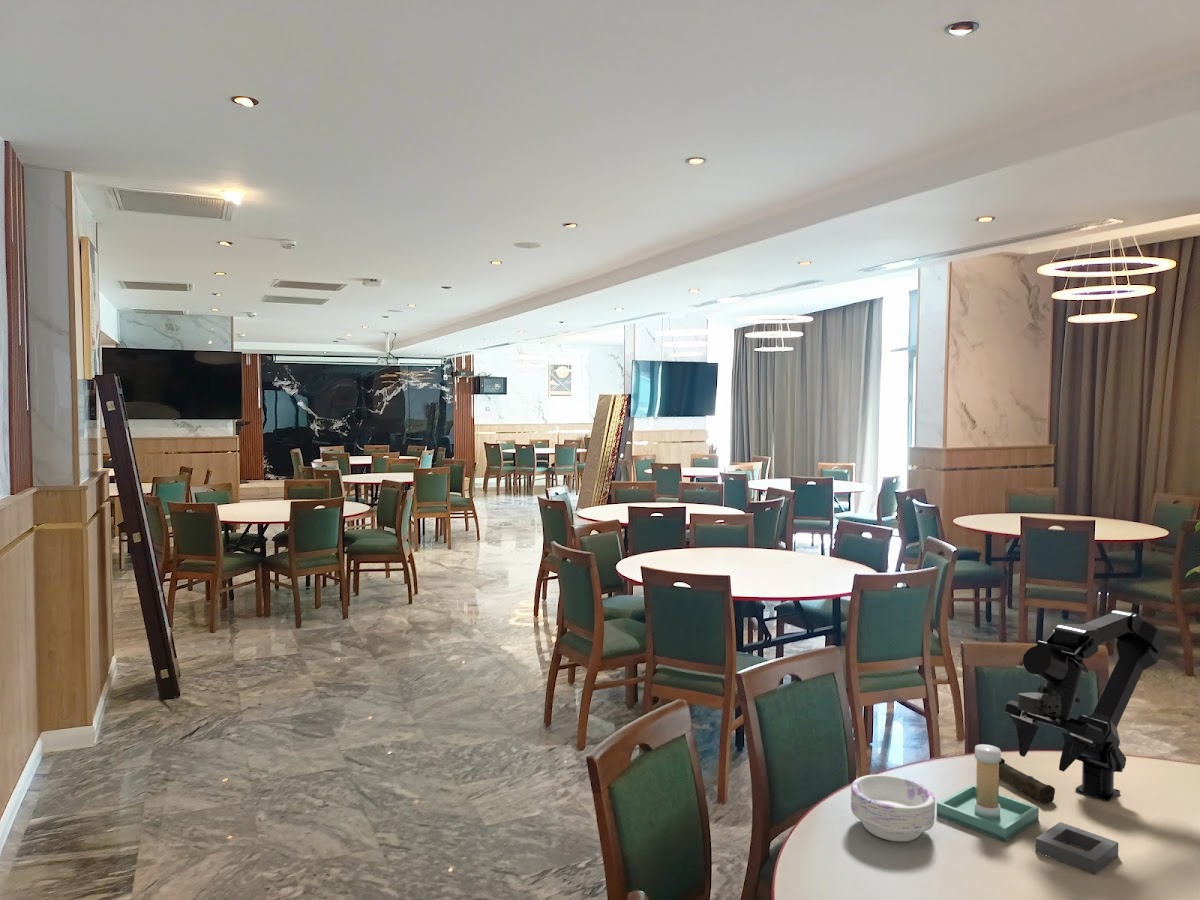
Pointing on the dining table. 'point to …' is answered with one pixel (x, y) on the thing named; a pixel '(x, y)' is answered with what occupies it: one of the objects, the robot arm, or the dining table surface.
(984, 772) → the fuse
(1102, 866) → the frame
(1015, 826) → the parts tray
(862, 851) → the dining table surface
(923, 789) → the paper bowls
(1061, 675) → the robot arm
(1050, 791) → the dark brown rod
